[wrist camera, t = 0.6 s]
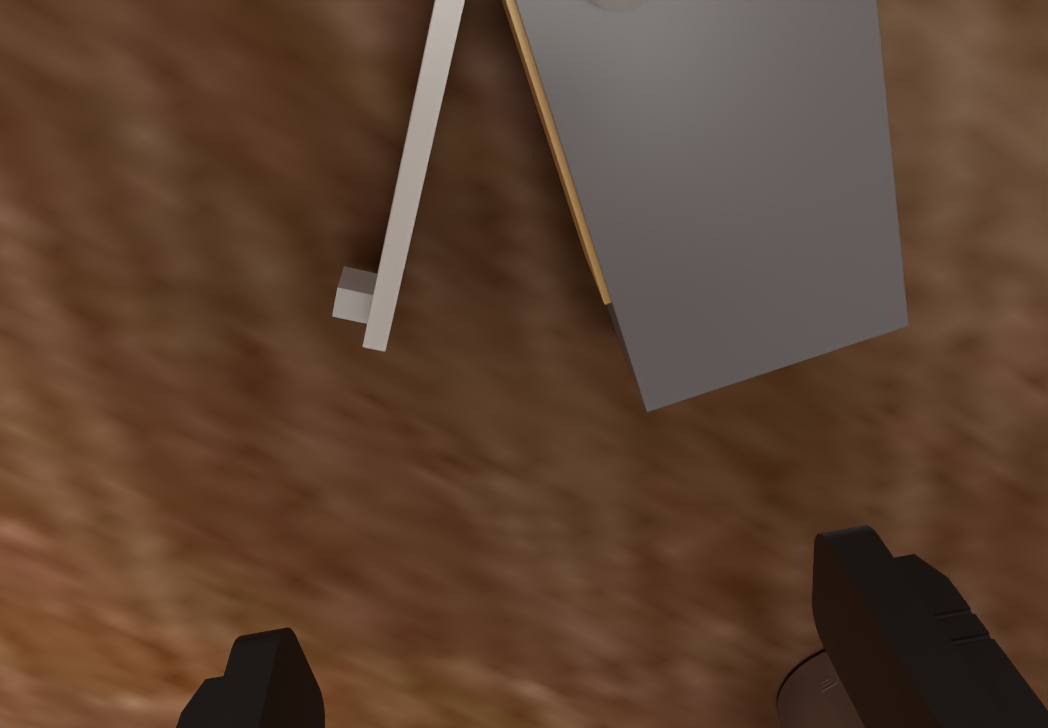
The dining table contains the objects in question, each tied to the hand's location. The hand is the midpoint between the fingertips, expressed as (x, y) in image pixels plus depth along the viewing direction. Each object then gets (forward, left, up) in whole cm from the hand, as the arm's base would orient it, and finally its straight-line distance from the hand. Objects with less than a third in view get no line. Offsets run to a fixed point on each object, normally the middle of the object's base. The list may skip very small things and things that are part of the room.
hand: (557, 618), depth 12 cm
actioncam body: (+2, -8, -22) cm, 24 cm away
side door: (+4, +2, -22) cm, 23 cm away
